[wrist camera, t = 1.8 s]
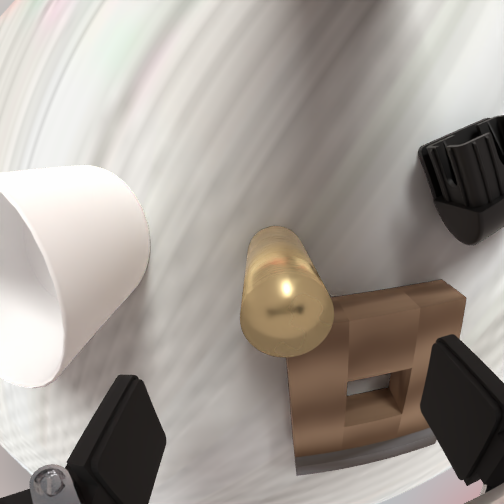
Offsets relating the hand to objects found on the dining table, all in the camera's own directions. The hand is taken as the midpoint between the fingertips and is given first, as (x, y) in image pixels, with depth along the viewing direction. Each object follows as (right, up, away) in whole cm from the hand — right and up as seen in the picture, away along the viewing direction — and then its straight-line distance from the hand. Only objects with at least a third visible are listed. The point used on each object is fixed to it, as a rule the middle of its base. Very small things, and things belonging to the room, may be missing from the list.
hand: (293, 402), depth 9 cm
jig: (+9, -6, +17) cm, 20 cm away
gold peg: (0, +4, +14) cm, 15 cm away
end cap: (+17, +11, +12) cm, 23 cm away
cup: (-15, +6, +14) cm, 21 cm away
